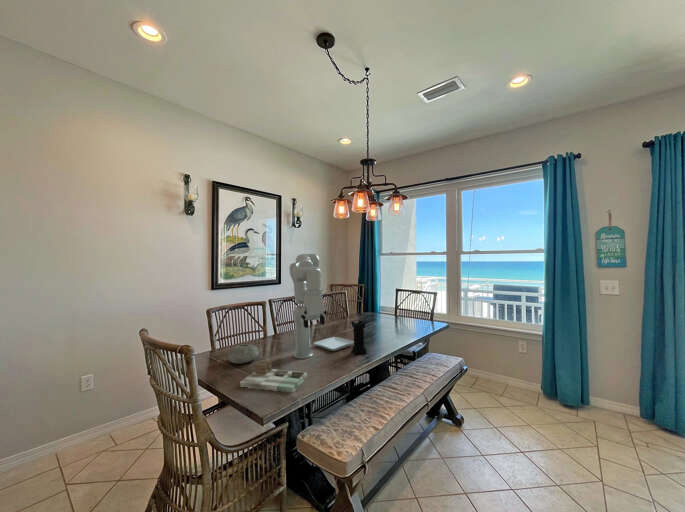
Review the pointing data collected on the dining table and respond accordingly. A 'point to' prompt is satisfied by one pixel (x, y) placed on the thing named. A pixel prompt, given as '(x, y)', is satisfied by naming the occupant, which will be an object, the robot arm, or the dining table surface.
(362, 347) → the chess piece
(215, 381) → the dining table surface
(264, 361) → the walnut block
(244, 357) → the grey stone
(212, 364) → the dining table surface
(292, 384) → the trap box
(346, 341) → the salad plate
